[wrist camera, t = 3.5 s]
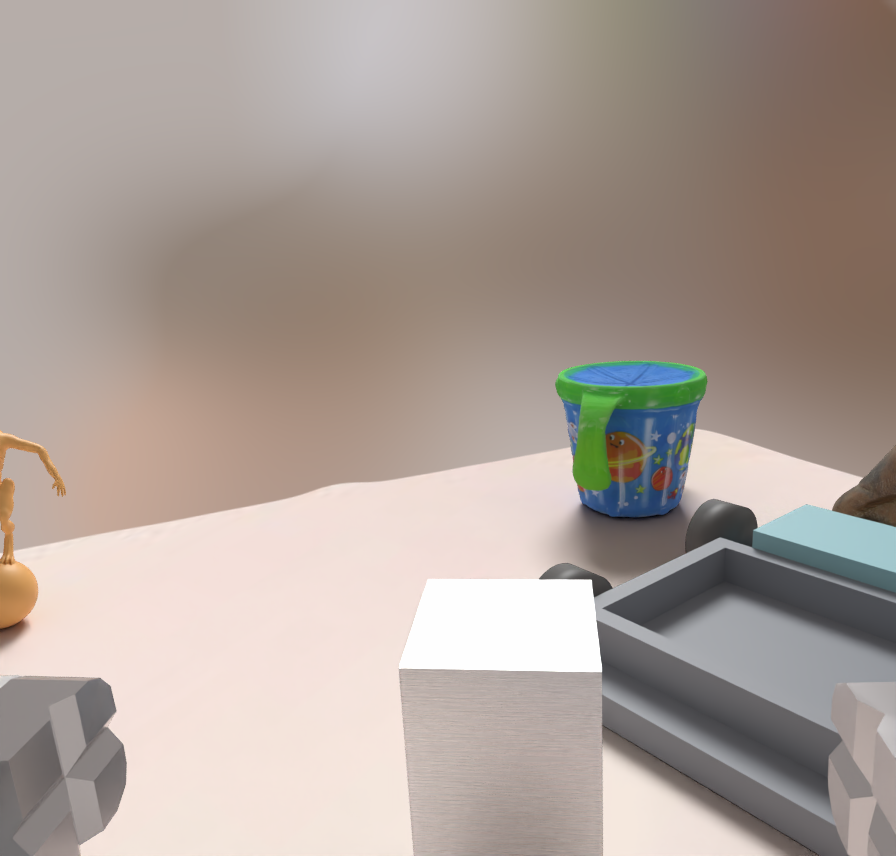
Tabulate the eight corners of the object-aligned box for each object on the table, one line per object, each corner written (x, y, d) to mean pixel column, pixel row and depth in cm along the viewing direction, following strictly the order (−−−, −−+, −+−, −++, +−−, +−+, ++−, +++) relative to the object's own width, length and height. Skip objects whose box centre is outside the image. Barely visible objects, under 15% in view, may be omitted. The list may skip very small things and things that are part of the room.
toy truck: (916, 913, 25) (931, 791, 24) (507, 668, 39) (504, 585, 38) (1109, 670, 37) (1125, 581, 35) (738, 550, 51) (741, 484, 50)
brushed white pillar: (604, 1022, 22) (601, 671, 19) (426, 1009, 23) (398, 668, 20) (594, 878, 27) (591, 579, 24) (447, 870, 28) (428, 579, 25)
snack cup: (614, 465, 70) (614, 350, 67) (735, 485, 63) (741, 358, 60) (514, 523, 58) (509, 386, 55) (650, 555, 51) (652, 401, 49)
